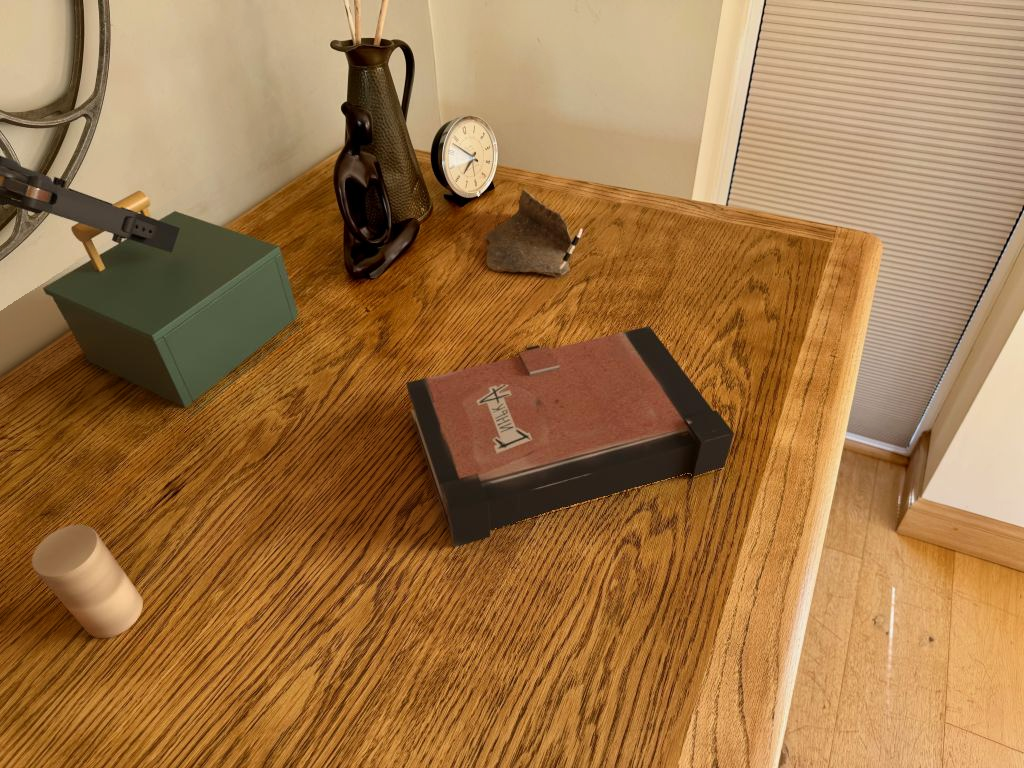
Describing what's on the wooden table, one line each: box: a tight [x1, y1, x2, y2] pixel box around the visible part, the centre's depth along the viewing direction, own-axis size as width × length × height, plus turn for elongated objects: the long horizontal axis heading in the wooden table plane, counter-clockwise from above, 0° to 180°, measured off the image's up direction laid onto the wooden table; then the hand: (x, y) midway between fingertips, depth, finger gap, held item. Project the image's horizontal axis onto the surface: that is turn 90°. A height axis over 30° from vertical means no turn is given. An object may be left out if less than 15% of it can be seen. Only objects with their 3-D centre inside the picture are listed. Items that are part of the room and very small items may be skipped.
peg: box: [31, 524, 144, 639], centre depth 55 cm, size 4×4×9 cm
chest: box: [52, 253, 302, 418], centre depth 79 cm, size 15×17×10 cm
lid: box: [42, 190, 282, 342], centre depth 73 cm, size 16×17×6 cm
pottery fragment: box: [485, 188, 584, 278], centre depth 95 cm, size 18×11×5 cm
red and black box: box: [405, 325, 735, 548], centre depth 69 cm, size 26×18×5 cm
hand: (147, 229), depth 77 cm, fingers open, 7 cm apart
